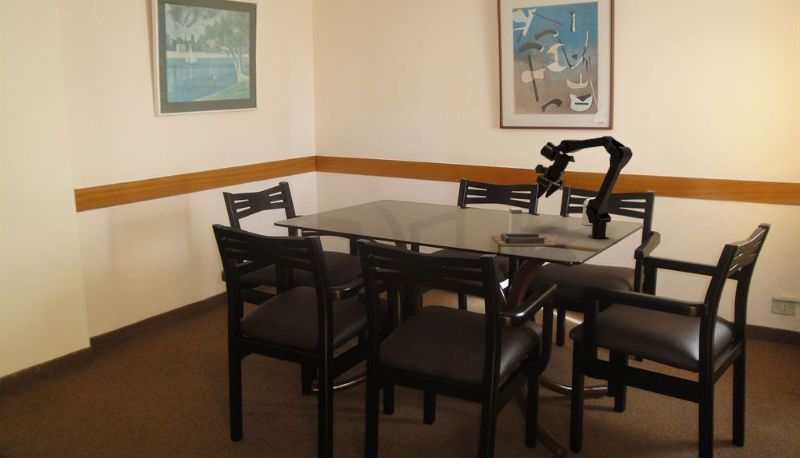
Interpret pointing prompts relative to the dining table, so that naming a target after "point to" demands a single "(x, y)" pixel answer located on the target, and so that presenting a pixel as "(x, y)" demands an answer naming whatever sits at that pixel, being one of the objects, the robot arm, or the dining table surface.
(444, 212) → the dining table surface
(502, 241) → the brown flat board
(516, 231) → the cream square-faced block
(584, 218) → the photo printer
